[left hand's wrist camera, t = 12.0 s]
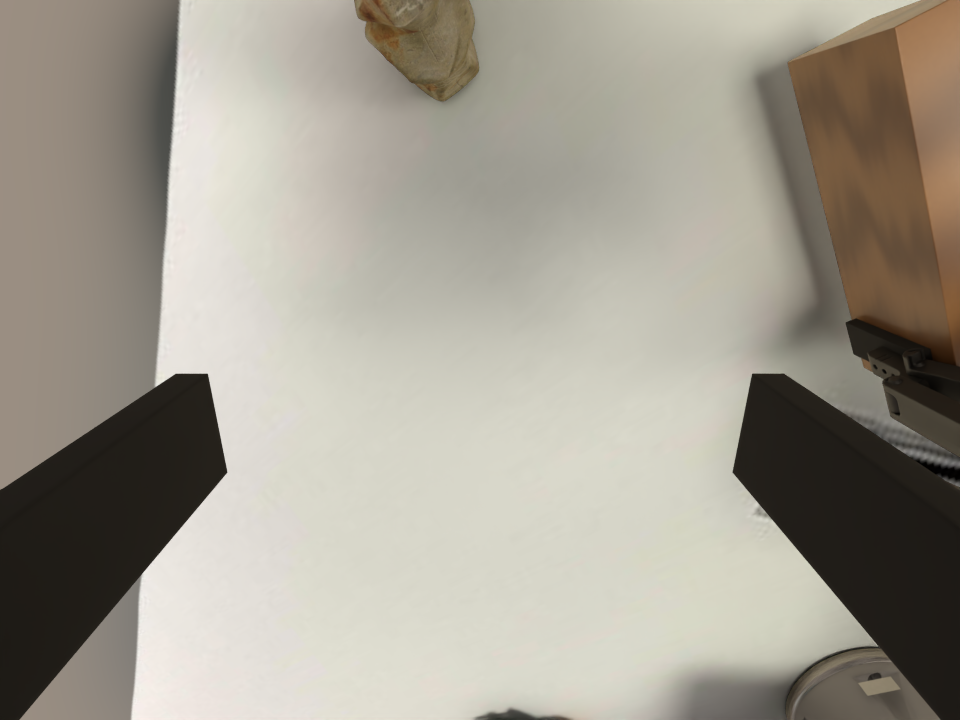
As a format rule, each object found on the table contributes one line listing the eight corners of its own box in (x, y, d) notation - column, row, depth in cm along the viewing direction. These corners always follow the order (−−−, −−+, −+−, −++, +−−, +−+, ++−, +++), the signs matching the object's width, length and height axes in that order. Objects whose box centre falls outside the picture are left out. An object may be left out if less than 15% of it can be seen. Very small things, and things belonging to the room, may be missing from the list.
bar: (786, 62, 31) (894, 26, 23) (872, 18, 31) (1015, -35, 22) (863, 367, 39) (966, 422, 30) (934, 338, 38) (1059, 387, 30)
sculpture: (433, -33, 33) (399, -181, 19) (495, 69, 36) (504, 2, 21) (364, 26, 35) (285, -74, 21) (427, 122, 37) (395, 91, 23)
